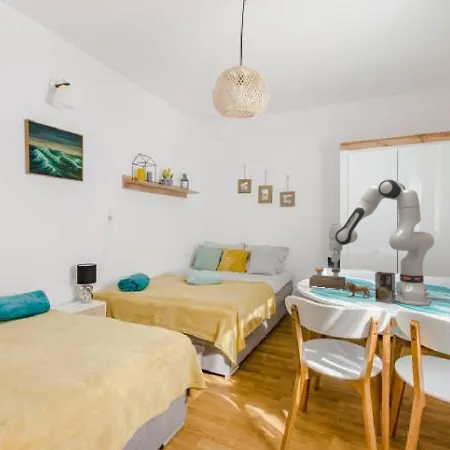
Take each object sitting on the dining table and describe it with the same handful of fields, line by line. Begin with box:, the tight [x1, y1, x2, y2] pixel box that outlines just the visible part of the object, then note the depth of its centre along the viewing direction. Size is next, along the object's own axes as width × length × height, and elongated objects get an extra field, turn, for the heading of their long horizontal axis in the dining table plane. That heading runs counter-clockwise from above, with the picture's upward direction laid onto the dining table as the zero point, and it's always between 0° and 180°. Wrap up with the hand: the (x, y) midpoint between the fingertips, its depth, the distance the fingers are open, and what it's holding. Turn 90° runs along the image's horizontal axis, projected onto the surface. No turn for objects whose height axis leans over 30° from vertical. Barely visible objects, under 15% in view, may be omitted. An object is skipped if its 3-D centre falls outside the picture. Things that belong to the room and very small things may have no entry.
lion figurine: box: [345, 281, 373, 299], centre depth 189 cm, size 15×5×9 cm, turn 69°
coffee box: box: [374, 271, 396, 304], centre depth 179 cm, size 9×6×16 cm
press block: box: [308, 274, 346, 290], centre depth 219 cm, size 16×22×6 cm
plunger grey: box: [331, 267, 341, 279], centre depth 217 cm, size 6×6×8 cm
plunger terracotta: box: [314, 266, 325, 278], centre depth 222 cm, size 6×6×8 cm
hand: (335, 267), depth 217 cm, fingers closed
